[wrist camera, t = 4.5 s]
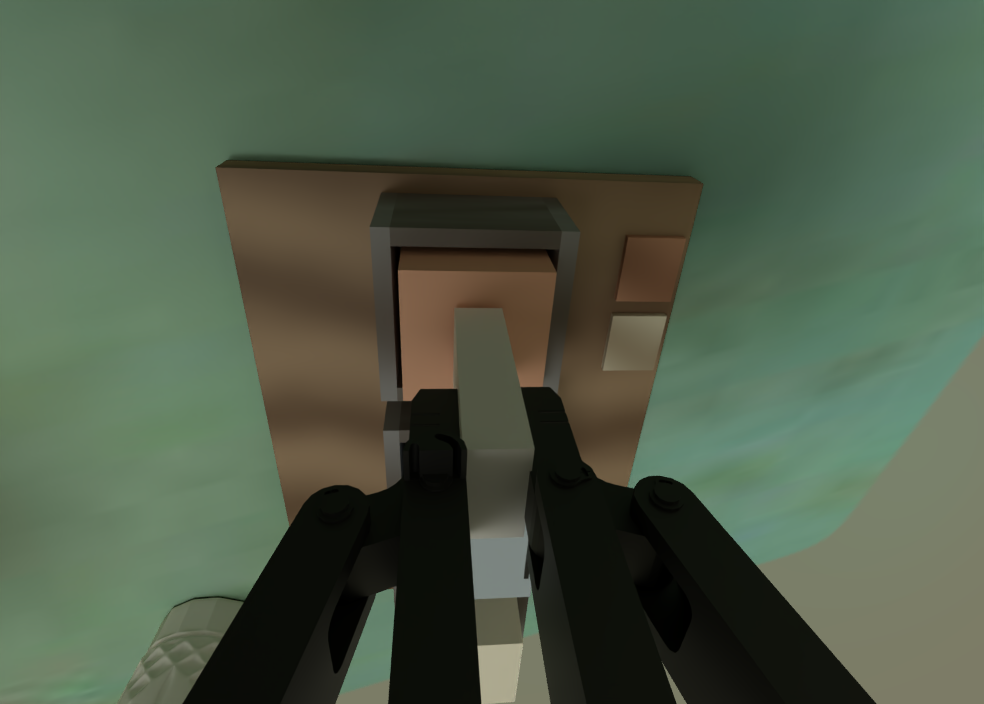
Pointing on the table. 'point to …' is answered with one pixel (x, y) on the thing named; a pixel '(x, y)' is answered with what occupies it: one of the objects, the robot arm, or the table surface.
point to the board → (375, 299)
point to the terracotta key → (471, 284)
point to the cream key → (498, 648)
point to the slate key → (500, 567)
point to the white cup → (180, 651)
